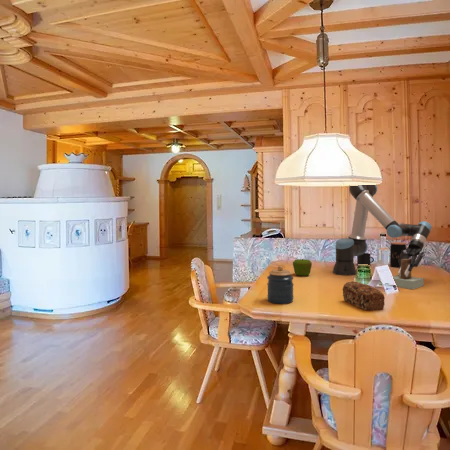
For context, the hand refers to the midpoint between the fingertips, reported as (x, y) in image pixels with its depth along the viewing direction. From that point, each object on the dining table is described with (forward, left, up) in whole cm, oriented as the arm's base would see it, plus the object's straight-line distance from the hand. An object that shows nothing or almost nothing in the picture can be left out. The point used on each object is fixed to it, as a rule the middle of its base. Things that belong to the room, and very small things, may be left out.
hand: (402, 274), depth 204 cm
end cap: (0, +4, -7) cm, 8 cm away
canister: (-23, -75, -7) cm, 79 cm away
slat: (0, +4, -4) cm, 5 cm away
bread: (+7, -50, -7) cm, 51 cm away
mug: (-52, +46, -7) cm, 70 cm away
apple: (-58, -19, -7) cm, 62 cm away
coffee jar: (-34, +60, -7) cm, 69 cm away
